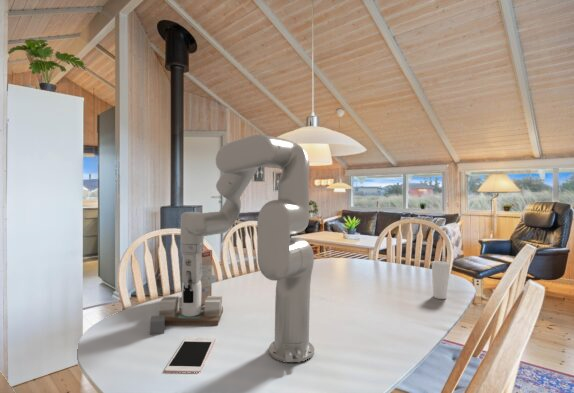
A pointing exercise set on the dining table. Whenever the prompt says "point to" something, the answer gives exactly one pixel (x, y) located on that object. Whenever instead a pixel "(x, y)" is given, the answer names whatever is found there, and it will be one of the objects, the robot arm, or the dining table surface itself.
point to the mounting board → (206, 317)
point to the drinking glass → (440, 279)
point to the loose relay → (157, 324)
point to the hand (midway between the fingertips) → (191, 297)
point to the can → (194, 307)
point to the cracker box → (205, 275)
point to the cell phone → (190, 355)
